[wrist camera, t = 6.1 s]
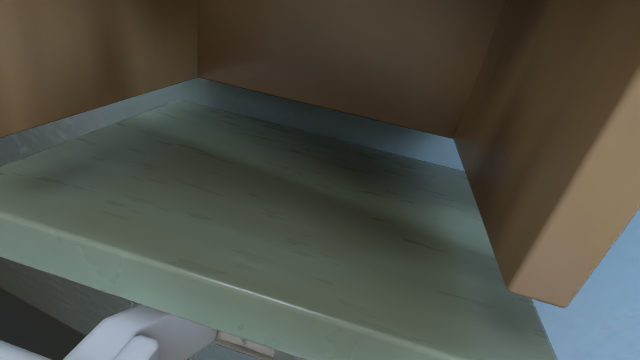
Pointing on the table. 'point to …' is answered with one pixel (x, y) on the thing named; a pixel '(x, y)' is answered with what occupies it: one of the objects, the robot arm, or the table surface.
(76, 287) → the table surface
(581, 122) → the drawer
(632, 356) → the table surface
